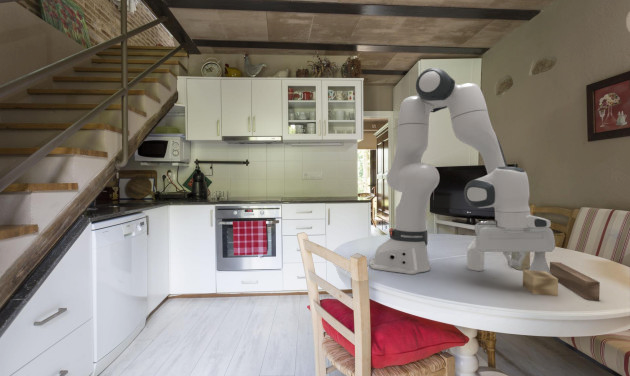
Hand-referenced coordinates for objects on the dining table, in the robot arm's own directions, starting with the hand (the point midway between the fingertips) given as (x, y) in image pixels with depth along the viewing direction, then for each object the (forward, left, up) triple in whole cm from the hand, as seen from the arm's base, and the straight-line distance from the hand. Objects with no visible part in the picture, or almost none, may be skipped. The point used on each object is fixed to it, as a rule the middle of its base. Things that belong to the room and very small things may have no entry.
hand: (514, 265), depth 89 cm
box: (+10, +24, -7) cm, 27 cm away
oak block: (+6, 0, -7) cm, 9 cm away
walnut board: (+17, +5, -7) cm, 19 cm away
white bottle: (-6, +19, -7) cm, 21 cm away
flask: (+11, +11, -7) cm, 17 cm away
